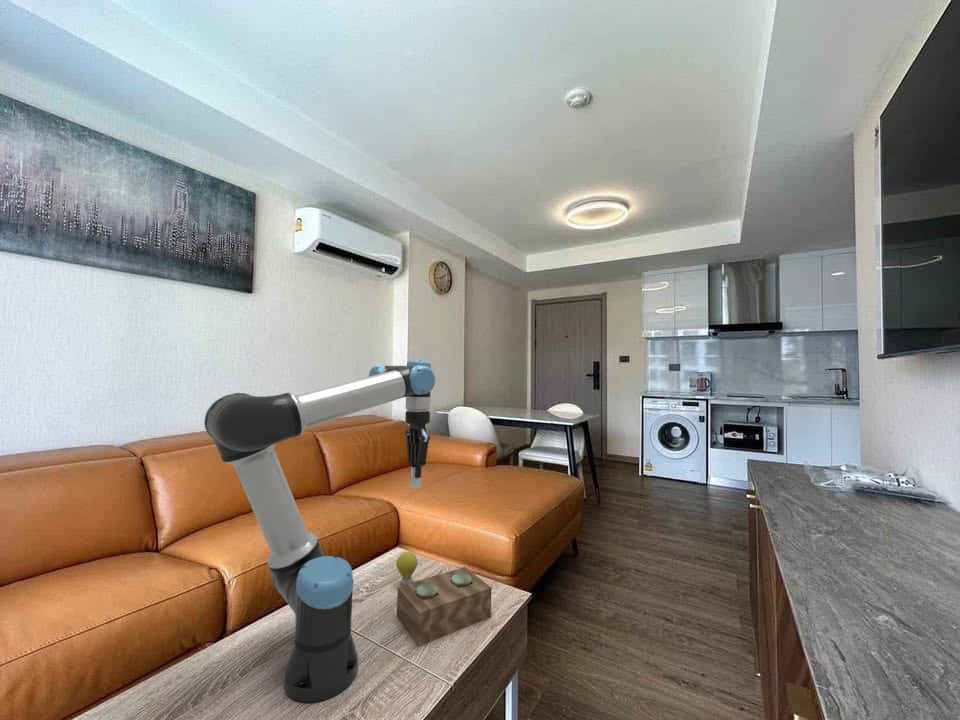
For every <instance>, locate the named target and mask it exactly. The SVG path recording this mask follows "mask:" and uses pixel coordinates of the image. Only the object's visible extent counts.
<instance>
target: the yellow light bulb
mask: <svg viewBox="0 0 960 720" xmlns="http://www.w3.org/2000/svg"><path fill="white" fill-rule="evenodd" d="M418 564H419V563H418V558H417V556H416V554H415V553H413V552H412V551H404V552H402V553H401V554H400V555H399V556H398V558H397V560H396V564H395V565H396V568H397V570H398V573H399V574H400V576H401V583H402V586H403V585H406V584H409V583H412V581H413V579H412V578H413V577H412V575H413V574H414V573H415V570H416V569H417V567H418Z"/></svg>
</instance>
